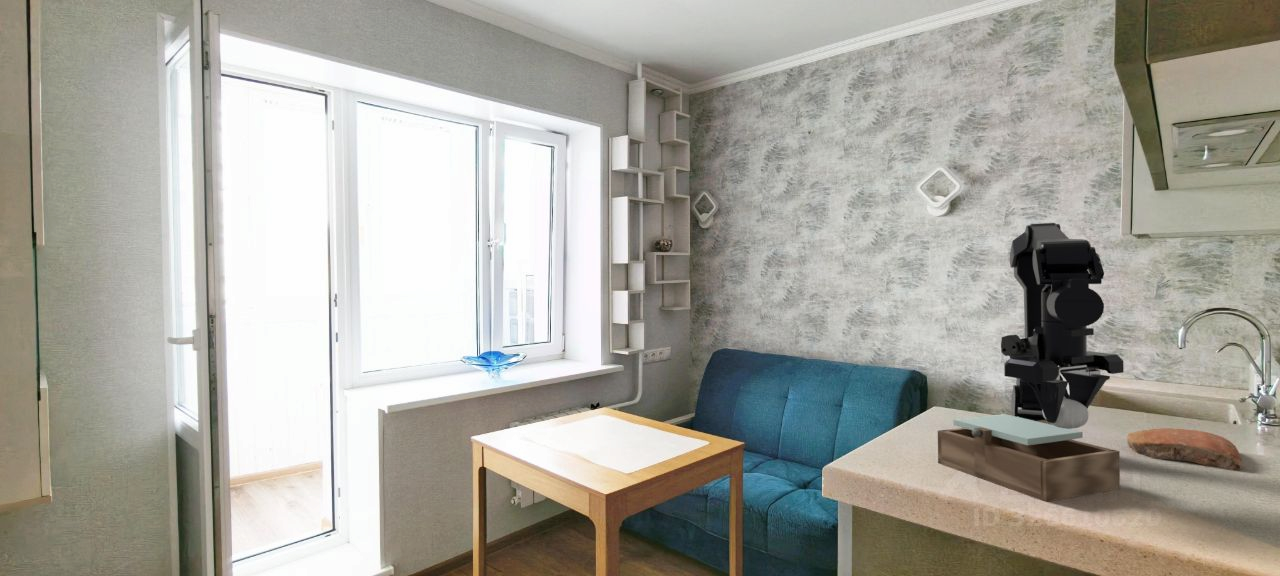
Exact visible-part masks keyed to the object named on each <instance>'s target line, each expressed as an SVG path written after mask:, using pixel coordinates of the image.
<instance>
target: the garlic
mask: <svg viewBox="0 0 1280 576" xmlns="http://www.w3.org/2000/svg"><path fill="white" fill-rule="evenodd" d="M1042 412H1043V410H1042ZM1043 416H1044V418H1045V415H1044V412H1043ZM1089 416H1090V415H1089V410H1088V409H1087V408H1086V407H1085V406H1084V405H1083V404H1081V403H1080V402H1077V401H1075V400H1071V399H1066V398H1065V397H1064V398H1063V401H1062V405H1061V408H1060V412H1059V415H1058V418H1057V420H1056V422H1055V423H1051V424H1052V425H1054V426H1056V427H1060V428H1066V429H1078V428H1080V427H1083V426H1085V425H1086V423H1088V420H1089ZM1045 419H1046V418H1045ZM1049 423H1050V422H1049Z"/></svg>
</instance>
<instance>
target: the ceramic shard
mask: <svg viewBox="0 0 1280 576" xmlns="http://www.w3.org/2000/svg"><path fill="white" fill-rule="evenodd" d="M1126 437H1127V445H1128V446H1127V447H1128V448H1130V449H1131V450H1132V451H1133V452H1135V453H1137V454H1140V455H1144V456H1146V457H1150V458H1151V459H1153V460H1154V459H1155V460H1169V461H1170V460H1171V461H1183V462H1184V461H1186V462H1192V463H1196V464H1198V465H1202V466H1210V467H1214V468H1219V469H1225V470H1231V471H1238V472H1239V471H1240V470H1241V469H1242V467H1243V463H1242V457H1241V454H1240V452H1239V450H1238V449H1237V447H1236V445H1235V444H1234V443H1233V442H1231V440H1229V439H1227V438H1225V437H1224V436H1221V435H1218V434H1215V433H1212V432H1207V431H1203V430H1195V429H1185V428H1168V427H1167V428H1166V427H1165V428H1163V427H1162V428H1150V429H1147V430H1145V429H1143V430H1138V431H1135V432H1130V433H1128V434H1127V435H1126Z"/></svg>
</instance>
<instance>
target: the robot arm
mask: <svg viewBox="0 0 1280 576" xmlns="http://www.w3.org/2000/svg"><path fill="white" fill-rule="evenodd" d="M1009 265H1010V266H1009V267H1010V268H1013V276H1014V278H1015V279H1016V282H1018V284H1019V285H1020V286H1021V287H1022V289H1023V303H1024V304H1023V311H1024V338H1023V337H1022V338H1020V337H1019V336H1018V335H1017V334H1008V335H1004V336H1002V337H1001V340H1000V349H1001V350H1000V351H1001V353H1002V355H1004V356H1005V357H1009V358H1008V359H1007V360H1006V361H1005V362H1004V364H1003V365H1004V367H1003V371H1004V372H1003V373H1004V377H1008V378H1015V379H1016V384H1013V386H1012V393H1011V399H1010V410H1011V411H1010V412H1011V414H1012V416H1015V417H1020V418H1024V419H1029V420H1033V421H1040V420H1045V421H1047V422H1050V423H1055V422H1056V420H1057V418H1058V415H1059V412H1060V408H1061V405H1062V401H1063V398H1064V397H1065V398H1066V399H1071V400H1075V401H1077V402H1080V403H1081V404H1083V405H1084V406H1085V407H1086V408H1087V410H1088V409H1089V407H1090V405H1091V404H1092V402H1093V400H1094V399H1095V398H1096V395H1097V394H1098V392H1100V391H1101V389H1102V388H1103V386H1104V384H1105V383H1106V382H1107V381H1108V380H1110V378H1111V376H1110V374H1111V375H1115V374H1122V373H1124V372H1125V371H1124V360H1123V359H1122V358H1121V357H1120V355H1118V354H1116V353H1108V352H1107V353H1106V352H1098V351H1090V350H1088V349H1087V348H1088V347H1087V345H1088V344H1087V336H1094V331H1095V330H1094V327H1092V328H1091V327H1088V326H1091V325H1093V324H1095V323H1096V322H1097V321H1099V319H1101V317H1102V315H1103V313H1104V309H1105V303H1104V300H1103V299H1102V296H1100V294H1099V293H1098V292H1096V291H1095V290H1094V289H1091V288H1090V285H1102V280H1103V279H1104V276H1105V271H1104V267H1103V264H1102V261H1101V258H1100V255H1099V253H1098V252H1096V248H1095V246H1092V245H1091V243H1090V241H1089V240H1088V239H1085V238H1084V239H1083V238H1069V237H1068V236H1067V235H1066V234H1065V233H1064V232H1063V231H1062V229H1061V225H1060V223H1055V222H1047V223H1046V222H1043V223H1042V222H1041V223H1039V222H1038V223H1030V224H1027V225H1026V226H1025V228H1024V232H1023V233H1021V234H1020V235H1018V236H1017V237H1016V238H1014V239H1013V240H1012V242H1011V247H1010V251H1009ZM1101 371H1106V372H1107V373H1108V374H1109V375H1105V374H1101ZM1063 378H1064V379H1063ZM1067 387H1068V388H1067ZM1068 391H1069V392H1068ZM1042 410H1043V412H1044V415H1045V418H1046V419H1045V418H1044V416H1043V412H1042Z"/></svg>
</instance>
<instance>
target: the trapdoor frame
mask: <svg viewBox="0 0 1280 576" xmlns="http://www.w3.org/2000/svg"><path fill="white" fill-rule="evenodd" d="M1037 422H1042V423H1046V424H1051V423H1049V422H1047V421H1045V420H1040V421H1037ZM1051 425H1052V424H1051ZM1120 457H1121V456H1120V450H1117V449H1112V448H1107V447H1104V446H1099V445H1094V444H1092V443H1088V442H1084V441H1080V440H1076V439H1071V440H1064V441H1056V442H1049V443H1042V444H1034V445H1024V444H1021V443H1017V442H1013V441H1010V440H1006V439H1002V438H999V437H995V436H992V430H989V429H985V428H974V430H969V429H966V428H962V427H959V428H958V427H957V428H949V429H941V430H937V463H938V464H940V465H942V466H946V467H949V468H950V469H953V470H956V471H960V472H962V473H965V474H969V475H971V476H973V477H976V478H979V479H983V480H984V481H987V482H990V483H993V484H996V485H999V486H1001V487H1005V488H1007V489H1009V490H1013V491H1016V492H1018V493H1022V494H1024V495H1027V496H1030V497H1033V498H1035V499H1037V500H1041V501H1043V502H1051V501H1055V500H1056V501H1057V500H1063V499H1067V498H1074V497H1079V496H1085V495H1092V494H1096V493H1101V492H1108V491H1113V490H1118V489H1121V488H1120V487H1121V486H1120V485H1121V478H1120V477H1121V474H1120V473H1121V471H1120V470H1121V469H1120V467H1121V464H1120V460H1121V459H1120Z"/></svg>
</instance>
